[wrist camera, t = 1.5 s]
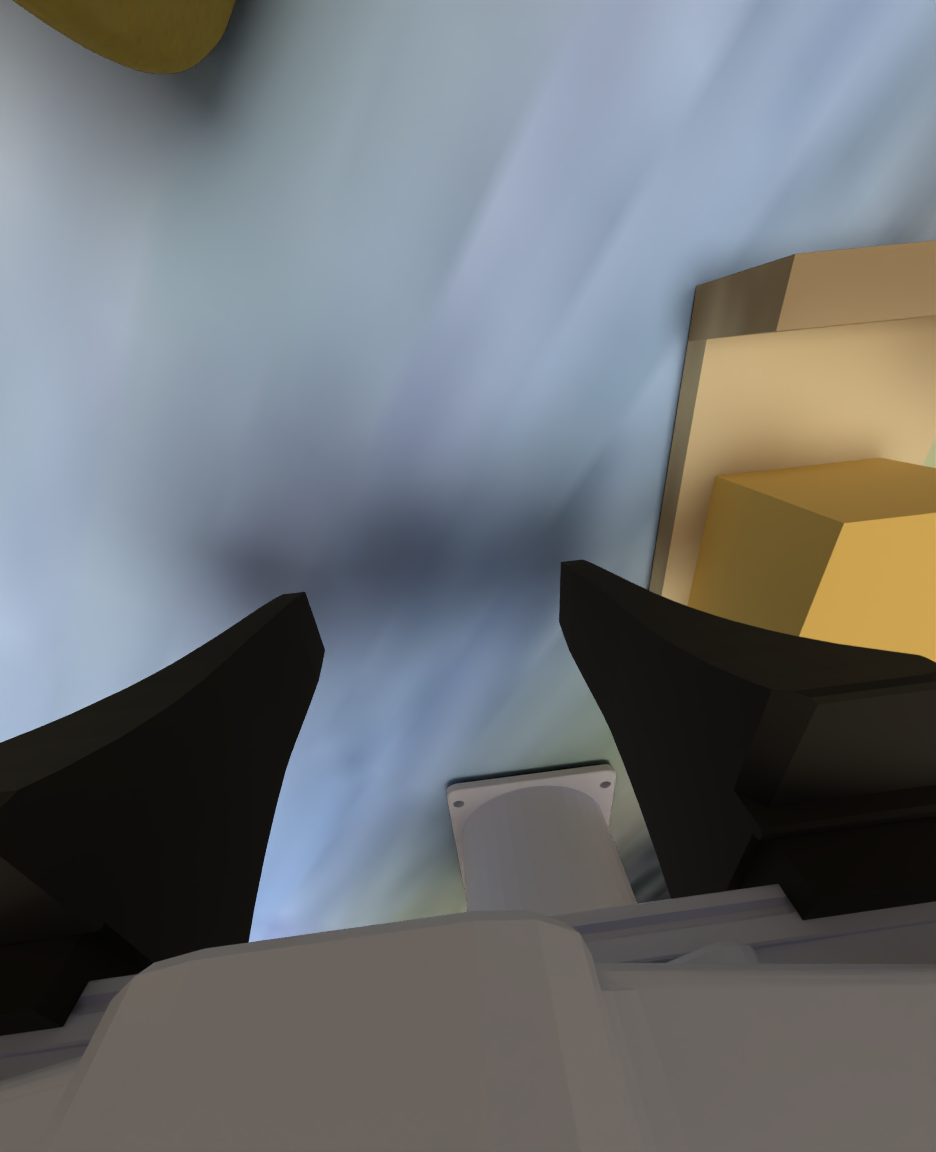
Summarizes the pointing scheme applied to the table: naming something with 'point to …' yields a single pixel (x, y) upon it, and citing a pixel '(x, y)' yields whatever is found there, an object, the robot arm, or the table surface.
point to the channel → (799, 379)
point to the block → (825, 553)
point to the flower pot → (140, 29)
